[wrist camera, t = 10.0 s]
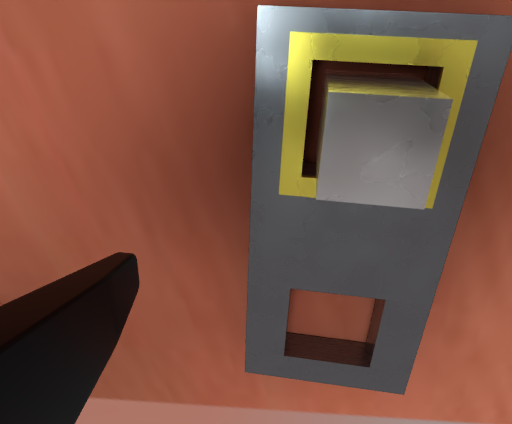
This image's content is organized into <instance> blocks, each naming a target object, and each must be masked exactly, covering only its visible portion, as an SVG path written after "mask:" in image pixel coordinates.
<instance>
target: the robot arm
mask: <svg viewBox="0 0 512 424" xmlns="http://www.w3.org/2000/svg"><path fill="white" fill-rule="evenodd" d="M138 289H139V274H138V265H137V258H136V256H135V255H134V254H132V253H123V252H118V253H115V254H113V255H111V256H109V257H106V258H104V259H102V260H100V261H98V262H96V263H93V264H91V265H89V266H87V267H85V268H82V269H80V270H78V271H76V272H74V273H72V274H69V275H67V276H65V277H63V278H61V279H58V280H56V281H54V282H52V283H50V284H48V285H45V286H43V287H41V288H39V289H37V290H35V291H32V292H30V293H28V294H26V295H24V296H21V297H19V298H17V299H15V300H13V301H11V302H8V303H6V304H4V305H2V306H0V424H75V422H76V420H77V418H78V416H79V415H80V413H81V411H82V409H83V407H84V405H85V403H86V402H87V400H88V398H89V396H90V394H91V392H92V390H93V388H94V387H95V385H96V383H97V381H98V379H99V377H100V375H101V373H102V372H103V370H104V368H105V366H106V364H107V362H108V360H109V358H110V357H111V355H112V353H113V351H114V349H115V347H116V345H117V342H118V340H119V338H120V335H121V333H122V330H123V328H124V325H125V323H126V320H127V318H128V315H129V313H130V310H131V308H132V305H133V302H134V300H135V297H136V295H137V292H138Z"/></svg>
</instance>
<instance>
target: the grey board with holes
mask: <svg viewBox="0 0 512 424" xmlns="http://www.w3.org/2000/svg"><path fill="white" fill-rule="evenodd" d="M511 48H512V16H509V15H484V14H460V13H435V12H411V11H386V10H362V9H338V8H313V7H289V6H264V5H258V12H257V40H256V68H255V97H254V125H253V153H252V181H251V210H250V238H249V266H248V295H247V323H246V351H245V372H248V373H255V374H262V375H269V376H276V377H283V378H290V379H297V380H304V381H311V382H318V383H325V384H332V385H339V386H346V387H353V388H360V389H368V390H375V391H382V392H389V393H396V394H403V395H404V393H405V390H406V387H407V383H408V380H409V377H410V374H411V370H412V367H413V364H414V361H415V357H416V354H417V351H418V348H419V345H420V341H421V338H422V335H423V332H424V328H425V325H426V322H427V319H428V316H429V312H430V309H431V306H432V303H433V299H434V296H435V293H436V290H437V287H438V283H439V280H440V277H441V274H442V270H443V267H444V264H445V261H446V257H447V254H448V251H449V248H450V245H451V241H452V238H453V235H454V232H455V228H456V225H457V222H458V219H459V216H460V212H461V209H462V206H463V203H464V199H465V196H466V193H467V190H468V187H469V183H470V180H471V177H472V174H473V170H474V167H475V164H476V161H477V157H478V154H479V151H480V148H481V145H482V141H483V138H484V135H485V132H486V128H487V125H488V122H489V119H490V116H491V112H492V109H493V106H494V103H495V99H496V96H497V93H498V90H499V87H500V83H501V80H502V77H503V74H504V70H505V67H506V64H507V61H508V57H509V54H510V51H511ZM313 60H329V61H347V62H365V63H383V64H402V65H420V66H428V70H427V74H426V79H425V82H426V83H428V84H429V85H431V86H433V87H434V88H436V89H437V90H439V91H441V92H442V93H444V94H445V95H447V96H449V97H450V98H452V99H453V102H452V106H451V110H450V114H449V117H448V121H447V125H446V129H445V133H444V137H443V140H442V144H441V148H440V152H439V156H438V160H437V163H436V167H435V171H434V175H433V179H432V183H431V186H430V190H429V194H428V198H427V202H426V206H425V209H413V208H402V207H391V206H381V205H370V204H359V203H348V202H337V201H327V200H316V162H309V161H303V154H304V144H305V134H306V123H307V113H308V103H309V93H310V82H311V72H312V62H313ZM290 289H299V290H307V291H316V292H324V293H333V294H341V295H350V296H358V297H367V298H375V299H376V301H375V305H374V310H373V314H372V319H371V323H370V328H369V332H368V337H367V341H366V343H362V342H355V341H347V340H339V339H332V338H324V337H316V336H308V335H301V334H293V333H286V329H287V318H288V308H289V298H290Z"/></svg>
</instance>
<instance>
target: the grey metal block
mask: <svg viewBox="0 0 512 424" xmlns="http://www.w3.org/2000/svg"><path fill="white" fill-rule="evenodd" d="M452 102H453V99H452V98H450V97H449V96H447V95H445V94H444V93H442V92H441V91H439V90H437V89H436V88H434V87H433V86H431V85H429V84H428V83H426V82H425V81H423V80H421V79H420V78H418V77H417V76H415V75H413V74H395V73H378V72H360V71H343V70H325V78H324V87H323V96H322V105H321V114H320V123H319V132H318V141H317V150H316V200H327V201H337V202H348V203H359V204H370V205H381V206H391V207H402V208H413V209H425V206H426V202H427V198H428V194H429V190H430V186H431V183H432V179H433V175H434V171H435V167H436V163H437V160H438V156H439V152H440V148H441V144H442V140H443V137H444V133H445V129H446V125H447V121H448V117H449V114H450V110H451V106H452Z"/></svg>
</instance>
